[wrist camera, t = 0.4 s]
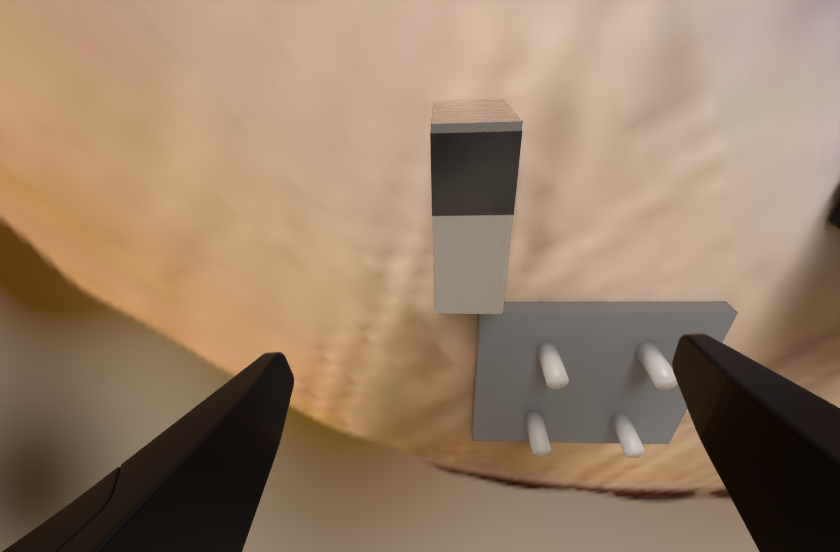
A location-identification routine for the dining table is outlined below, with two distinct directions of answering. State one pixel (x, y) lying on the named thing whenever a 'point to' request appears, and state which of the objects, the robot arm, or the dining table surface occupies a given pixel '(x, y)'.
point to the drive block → (473, 202)
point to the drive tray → (585, 371)
